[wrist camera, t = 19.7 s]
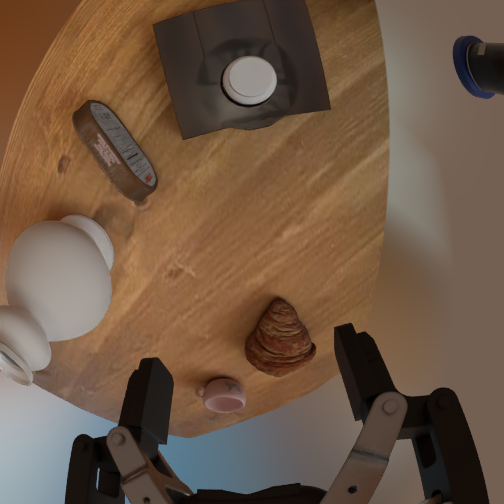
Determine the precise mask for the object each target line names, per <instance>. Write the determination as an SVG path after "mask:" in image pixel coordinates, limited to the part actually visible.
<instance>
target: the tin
mask: <svg viewBox="0 0 504 504" xmlns="http://www.w3.org/2000/svg"><path fill="white" fill-rule="evenodd" d="M72 121H73V125H74V128H75V130H76V132H77V134H78V136H79V137H80V139H81V140H82V142H83V143H84V145H85V146H86V148H87V149H88V150H89V152H90V153H91V155H92V156H93V157H94V159H95V160H96V162H97V163H98V165H99V166H100V167H101V169H102V170H103V172H104V173H105V174H106V176H107V177H108V178H109V180H110V181H111V182H112V184H113V185H114V186H115V187H116V189H117V190H118V191H119V192H120V193H122V194H123V195H124V196H125V197H127V198H128V199H130V200H132V201H134V202H142V201H143V200H144V199H145V198H146V197H147V196H149V195H150V194H151V193H153V192H154V191H155V190H156V187H157V183H158V180H157V176H156V173H155V171H154V169H153V167H152V165H151V163H150V162H149V160H148V159H147V157H146V156H145V154H144V153H143V152H142V150H141V149H140V147H139V146H138V144H137V143H136V142H135V140H134V139H133V137H132V136H131V135H130V133H129V132H128V130H127V129H126V128H125V126H124V125H123V123H122V122H121V121H120V119H119V118H118V117H117V115H116V114H115V113H114V112H113V111H112V110H111V109H110V108H109V107H108V106H107V105H105V104H104V103H102V102H100V101H96V100H88V101H87V102H85V103H84V104H83V105H82V106H81V107H80V108H79V109H78V110H77V111H75V112H74V114H73V117H72Z"/></svg>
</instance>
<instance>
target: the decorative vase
mask: <svg viewBox="0 0 504 504" xmlns="http://www.w3.org/2000/svg"><path fill="white" fill-rule="evenodd" d="M113 262H114V250H113V246H112V243H111V241H110V238H109V237H108V235H107V233H106V232H105V231H104V229H103V228H102V227H101V226H100V225H99V224H98V223H96V222H95V221H94V220H92V219H91V218H89V217H86V216H84V215H79V214H72V215H68V216H65V217H64V218H62V219H61V220H60V221H51V220H48V221H41V222H37V223H35V224H32V225H31V226H29V227H28V228H26V229H25V230H24V231H23V232H22V233H21V234H20V235H19V236H18V237H17V239H16V240H15V242H14V244H13V246H12V248H11V250H10V253H9V257H8V261H7V268H6V290H7V297H8V303H9V306H6V305H4V306H0V371H2V372H3V373H4V374H5V375H7V376H8V377H9V378H11V379H13V380H14V381H16V382H18V383H20V384H22V385H26V386H29V385H31V383H32V381H33V375H32V372H31V371H38V370H42V369H44V368H45V367H47V365H48V364H49V362H50V360H51V349H50V345H49V342H48V341H63V340H69V339H73V338H76V337H79V336H81V335H84V334H86V333H88V332H89V331H91V330H92V329H94V328H95V327H96V326H97V325H98V324H99V323H100V322H101V321H102V319H103V318H104V316H105V315H106V313H107V311H108V308H109V306H110V302H111V297H112V283H111V277H110V273H109V272H110V270H111V268H112V266H113Z"/></svg>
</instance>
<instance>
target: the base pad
mask: <svg viewBox="0 0 504 504" xmlns="http://www.w3.org/2000/svg"><path fill="white" fill-rule="evenodd" d="M153 29H154V33H155V37H156V41H157V46H158V50H159V54H160V58H161V62H162V65H163V69H164V73H165V77H166V81H167V85H168V88H169V92H170V96H171V99H172V103H173V107H174V110H175V114H176V118H177V121H178V125H179V128H180V132H181V135H182V139H183V140H185V139H189V138H192V137H195V136H199V135H203V134H206V133H210V132H214V131H218V130H221V129H226V128H237V129H244V130H254V129H258V128H263V127H268V126H271V125H272V124H274V123H275V122H277V121H278V120H280V119H282V118H283V117H285V116H289V115H295V114H301V113H308V112H316V111H324V110H331V106H330V101H329V95H328V90H327V85H326V80H325V76H324V71H323V66H322V62H321V58H320V53H319V49H318V45H317V41H316V38H315V34H314V30H313V26H312V23H311V19H310V16H309V13H308V9H307V6H306V3H305V0H243V1H237V2H231V3H226V4H221V5H217V6H212V7H208V8H204V9H200V10H196V11H193V12H189V13H186V14H182V15H179V16H176V17H173V18H170V19H167V20H164V21H161V22H158V23H156V24H153ZM244 56H255V57H259V58H262V59H264V60H265V61H267V62H268V63H269V64H270V65H271V66H272V67H273V69H274V71H275V73H276V77H277V83H276V87H275V90H274V92H273V93H272V94H271V96H270V97H269V98H267V99H266V100H265V101H263V102H261V103H260V104H258V105H255V106H250V107H245V106H239V105H237V104H235V103H233V102H231V101H229V99H228V98H227V97H226V95H225V94H224V92H223V88H222V79H223V75H224V72H225V70H226V68H227V67H228V65H229V64H230V63H231V62H233V61H234V60H236V59H238V58H241V57H244Z"/></svg>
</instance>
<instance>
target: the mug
mask: <svg viewBox="0 0 504 504" xmlns="http://www.w3.org/2000/svg"><path fill="white" fill-rule="evenodd" d="M200 389H201V390H203V391H204V393H203V396H200V395H199V393H198V391H199V390H200ZM195 394H196V396H197V397H198V398H200V399H203V402H204V405H205V406H206V407H207V408H208V409H210V410H212V411H215V412H220V413H231V412H236V411H239V410H240V409H242V408H243V407H244V406H245V403H246V395H245V392H244V390H243V388H242V386H241V385H240V384H239V383H238V382H236V381H234V380H231V379H216V380H213V381H211V382H210V383H209V384H208V385H207V387H206V388H204V387H202V386H199V387H197V388H196V389H195Z"/></svg>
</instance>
